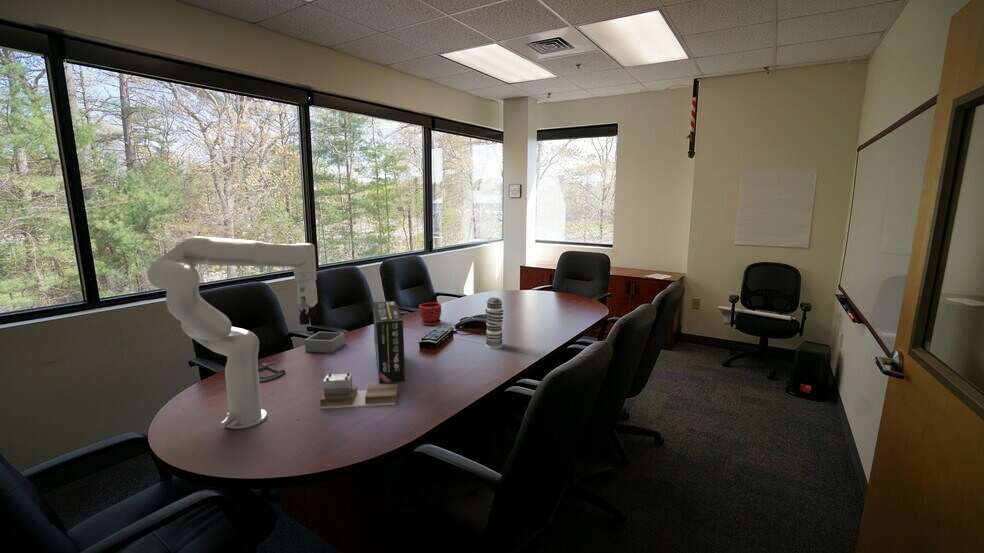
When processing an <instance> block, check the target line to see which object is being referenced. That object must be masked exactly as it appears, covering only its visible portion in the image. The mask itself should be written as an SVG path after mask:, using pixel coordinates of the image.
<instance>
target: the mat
mask: <svg viewBox="0 0 984 553" xmlns="http://www.w3.org/2000/svg"><path fill="white" fill-rule="evenodd" d="M366 393H367V390H357V394H356V396H355V399H354V402H353V405H337V406H321V405H320V409H321V410H324V409H339V408H356V407H357V408H359V407H373V406H374V407H377V406H378V407H379V406H393V405H396V403H397V401H396V402H393V403H375V404H365V396H366Z"/></svg>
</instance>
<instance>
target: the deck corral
mask: <svg viewBox="0 0 984 553" xmlns="http://www.w3.org/2000/svg"><path fill="white" fill-rule="evenodd" d="M344 345H346V334H345V332H334V331H333V332H332V331H317V332H316V333H314V334H313V335H310V336H309V337H307V338H305V339H304V349H305V352H306V353H307V352H309V353H327V354H328V353H329V354H333V353H335V352H336V351H337V350H338V349H341V347H344Z"/></svg>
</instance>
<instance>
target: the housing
mask: <svg viewBox="0 0 984 553" xmlns="http://www.w3.org/2000/svg"><path fill="white" fill-rule="evenodd" d="M352 386H353V374H352V373H350V372H346V373H335V374H332V373H328V374H326V376H325V377H324V379H323V394H324V397H326V396H345V395H350V394H351V391H352V389H353V387H352Z"/></svg>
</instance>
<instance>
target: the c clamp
mask: <svg viewBox="0 0 984 553" xmlns="http://www.w3.org/2000/svg"><path fill="white" fill-rule="evenodd" d="M278 363H281V361H280V360H277V361H275V362H269V363H268V362H267V363H266V362H263V363H262V364H261V365H260V366H258V372H260V371H264V370H267V369H269V370H271V371H272V372H275V374H271V375H269V376H261V375H259V383H264V382H269V381H273V380H275V379H277V378H279V377H281V376H284V375H286V369H278V368H276V367H273V366H271V365H275V364H278Z"/></svg>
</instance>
